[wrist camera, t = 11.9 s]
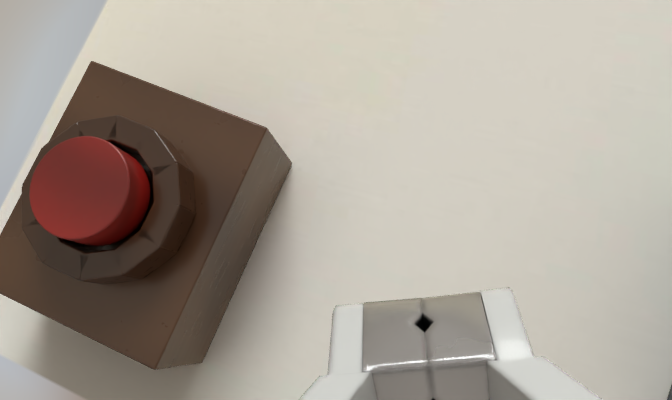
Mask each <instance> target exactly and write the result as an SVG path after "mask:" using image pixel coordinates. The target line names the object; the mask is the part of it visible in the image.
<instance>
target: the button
mask: <svg viewBox="0 0 672 400" xmlns="http://www.w3.org/2000/svg"><path fill="white" fill-rule="evenodd" d="M29 198H30V205H31V209H32V212H33V214H34V216H35V218H36V220H37V221H38V223H39V224H40V225H41V226H42V227H43V228H44V229H45V230H46V231H48V232H49V233H50V234H52V235H54V236H57V237H59V238H62V239H66V240H70V241H74V242H78V243H81V244H85V245H90V246H106V245H110V244H113V243H116V242H118V241H120V240H122V239H124V238H125V237H127V236H128V235H129V234H131V233H132V232H133V231H134V230H135V229H136V228H137V227H138V225H139V224H140V223H141V221H142V220H143V218H144V216H145V214H146V211H147V209H148V205H149V200H150V184H149V180H148V177H147V174H146V172H145V170H144V168H143V167H142V166H141V164H140V163H139V162H138V161H137V160H136V159H135V158H133V157H132V156H131V155H129V154H127V153H126V152H124V151H123V150H121V149H119V148H118V147H116V146H114V145H113V144H111V143H110V142H108V141H106V140H104V139H101V138H98V137H92V136H81V137H75V138H71V139H68V140H65V141H63V142H61V143H59V144H58V145H56V146H55V147H53V148H52V149H51V150H50V151H49V152H48V153H47V154H46V155H45V156H44V157H43V158H42V159H41V161H40V162H39V164H38V165H37V167H36V169H35V171H34V173H33V176H32V179H31V183H30V191H29Z"/></svg>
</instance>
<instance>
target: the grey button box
mask: <svg viewBox="0 0 672 400" xmlns="http://www.w3.org/2000/svg"><path fill="white" fill-rule="evenodd" d="M667 400H672V386H671V389H670V392H669V395H668V399H667Z"/></svg>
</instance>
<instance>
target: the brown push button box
mask: <svg viewBox="0 0 672 400" xmlns="http://www.w3.org/2000/svg"><path fill="white" fill-rule="evenodd" d="M81 136H92V137H98V138H101V139H104V140H106V141H108V142H110V143H111V144H113V145H114V146H116V147H118V148H119V149H121V150H123V151H124V152H126V153H127V154H129V155H131V156H132V157H133V158H135V159H136V160H137V161H138V162H139V163H140V164H141V166H142V167H143V168H144V170H145V172H146V174H147V177H148V180H149V184H150V200H149V205H148V209H147V211H146V214H145V216H144V218H143V220H142V221H141V223H140V224H139V225H138V227H137V228H136V229H135V230H134V231H133V232H132V233H131V234H129V235H128V236H127V237H125V238H124V239H122V240H120V241H118V242H116V243H113V244H110V245H106V246H90V245H85V244H81V243H78V242H74V241H70V240H66V239H62V238H59V237H57V236H54V235H52V234H50V233H49V232H48V231H46V230H45V229H44V228H43V227H42V226H41V225H40V224H39V223H38V221H37V220H36V218H35V216H34V214H33V212H32V209H31V205H30V198H29V191H30V183H31V179H32V176H33V173H34V171H35V169H36V167H37V165H38V164H39V162H40V161H41V159H42V158H43V157H44V156H45V155H46V154H47V153H48V152H49V151H50V150H51V149H52V148H53V147H55V146H56V145H58V144H59V143H61V142H63V141H65V140H68V139H71V138H75V137H81ZM291 164H292V162H291V161H290V159H289V158H288V157H287V155H286V154H285V152H284V151H283V150H282V148H281V147H280V145H279V144H278V143H277V141H276V140H275V139H274V137H273V136H272V134H271V133H270V132H269V130H268V129H267V128H266V127H264V126H261V125H259V124H256V123H253V122H251V121H248V120H245V119H243V118H240V117H238V116H235V115H232V114H230V113H227V112H225V111H222V110H219V109H217V108H214V107H211V106H209V105H206V104H204V103H201V102H198V101H196V100H193V99H190V98H188V97H185V96H183V95H180V94H177V93H175V92H172V91H169V90H167V89H164V88H162V87H159V86H156V85H154V84H151V83H149V82H146V81H143V80H141V79H138V78H135V77H133V76H130V75H128V74H125V73H122V72H120V71H117V70H114V69H112V68H109V67H107V66H104V65H101V64H99V63H96V62H93V61H91V62H90V64H89V66H88V68H87V70H86V72H85V74H84V76H83V78H82V80H81V82H80V83H79V85H78V87H77V89H76V91H75V93H74V95H73V97H72V99H71V101H70V103H69V104H68V106H67V108H66V110H65V112H64V114H63V116H62V118H61V120H60V122H59V124H58V126H57V127H56V129H55V131H54V133H53V135H52V137H51V139H50V141H49V143H47V144H46V145H45V146H44V147H43V148H42V149H41V150H40V152H39V154H38V156H37V158H36V160H35V162H34V164H33V166H32V168H31V169H30V171H29V173H28V175H27V177H26V179H25V181H24V183H23V186H22V194H21V196H20V198H19V200H18V202H17V204H16V206H15V208H14V210H13V212H12V213H11V215H10V217H9V219H8V221H7V223H6V225H5V227H4V229H3V231H2V233H1V234H0V294H2V295H4V296H6V297H8V298H10V299H12V300H14V301H16V302H18V303H20V304H22V305H24V306H26V307H28V308H30V309H32V310H34V311H37V312H39V313H41V314H43V315H45V316H47V317H49V318H51V319H53V320H55V321H57V322H59V323H61V324H63V325H65V326H67V327H69V328H71V329H73V330H75V331H77V332H79V333H81V334H83V335H85V336H87V337H89V338H91V339H93V340H95V341H97V342H99V343H101V344H103V345H105V346H107V347H109V348H111V349H113V350H115V351H117V352H119V353H121V354H123V355H125V356H127V357H129V358H132V359H134V360H136V361H138V362H140V363H142V364H144V365H146V366H148V367H150V368H152V369H154V370H156V369H163V368H170V367H177V366H183V365H190V364H197V363H202V361H203V359H204V357H205V355H206V352H207V350H208V348H209V346H210V344H211V341H212V339H213V337H214V335H215V333H216V330H217V328H218V326H219V324H220V321H221V319H222V317H223V315H224V313H225V310H226V308H227V306H228V304H229V302H230V299H231V297H232V295H233V293H234V290H235V288H236V286H237V284H238V282H239V279H240V277H241V275H242V273H243V271H244V268H245V266H246V264H247V262H248V259H249V257H250V255H251V253H252V251H253V248H254V246H255V244H256V242H257V240H258V237H259V235H260V233H261V231H262V228H263V226H264V224H265V222H266V220H267V217H268V215H269V213H270V211H271V209H272V206H273V204H274V202H275V200H276V197H277V195H278V193H279V191H280V189H281V186H282V184H283V182H284V180H285V178H286V175H287V173H288V171H289V169H290V166H291Z"/></svg>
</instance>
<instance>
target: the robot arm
mask: <svg viewBox="0 0 672 400" xmlns="http://www.w3.org/2000/svg"><path fill="white" fill-rule="evenodd" d="M299 400H603V399H601V398H600V397H599V396H597V395H596V394H595V393H593V392H592V391H590V390H589V389H588V388H586V387H585V386H584V385H582V384H581V383H580V382H578V381H577V380H575V379H574V378H573V377H571V376H570V375H569V374H567V373H566V372H564V371H563V370H562V369H560V368H559V367H558V366H556V365H555V364H554V363H552V362H551V361H549V360H548V359H547V358H545V357H534V354H533V351H532V348H531V345H530V342H529V339H528V336H527V333H526V330H525V327H524V324H523V321H522V318H521V314H520V311H519V308H518V305H517V302H516V299H515V296H514V293H513V291H512V290H511V289H510V288H509V287H507V288H500V289H492V290H484V291H480V292H473V293H464V294H454V295H445V296H436V297H427V298H415V299H403V300H391V301H378V302H366V303H364V304H363V303H359V304H347V305H336V306H335V308H334V310H333V316H332V328H331V340H330V352H329V363H328V375H327V376H319V377H318V378H317V379H316V380H315V381H314V383H313V384H312V385H311V386H310V387H309V388H308V389H307V391H306V392H305V393H304V394H303V395H302V396H301V397H300V399H299Z"/></svg>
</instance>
